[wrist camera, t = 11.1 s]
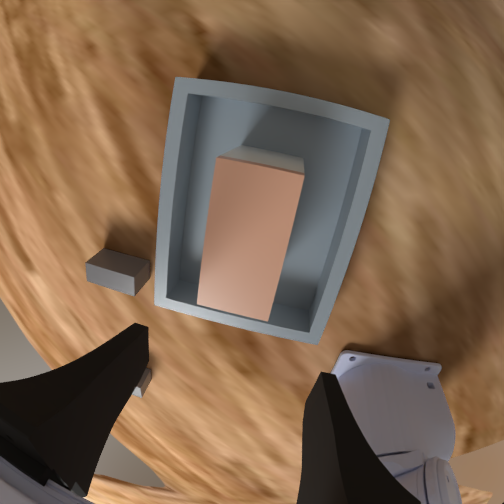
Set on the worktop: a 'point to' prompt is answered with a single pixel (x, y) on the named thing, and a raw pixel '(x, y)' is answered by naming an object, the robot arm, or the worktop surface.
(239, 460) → the worktop surface
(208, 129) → the tray
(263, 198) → the pink and gray block
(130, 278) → the grey blocks
